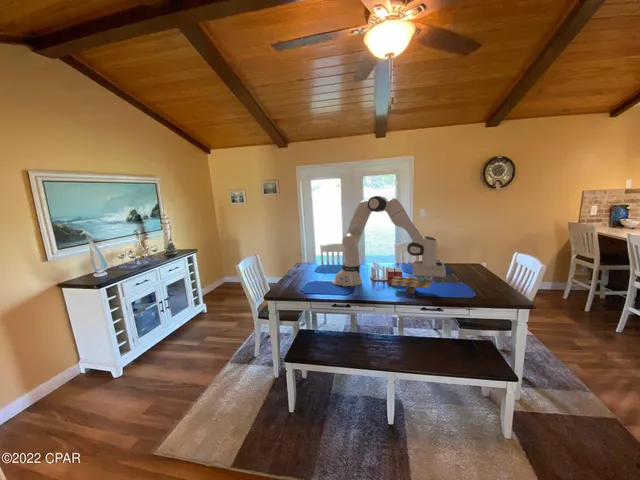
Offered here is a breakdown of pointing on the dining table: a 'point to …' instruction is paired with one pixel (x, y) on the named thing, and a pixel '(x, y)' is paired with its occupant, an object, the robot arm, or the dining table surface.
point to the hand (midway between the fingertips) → (428, 282)
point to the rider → (420, 278)
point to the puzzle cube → (393, 274)
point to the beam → (409, 283)
